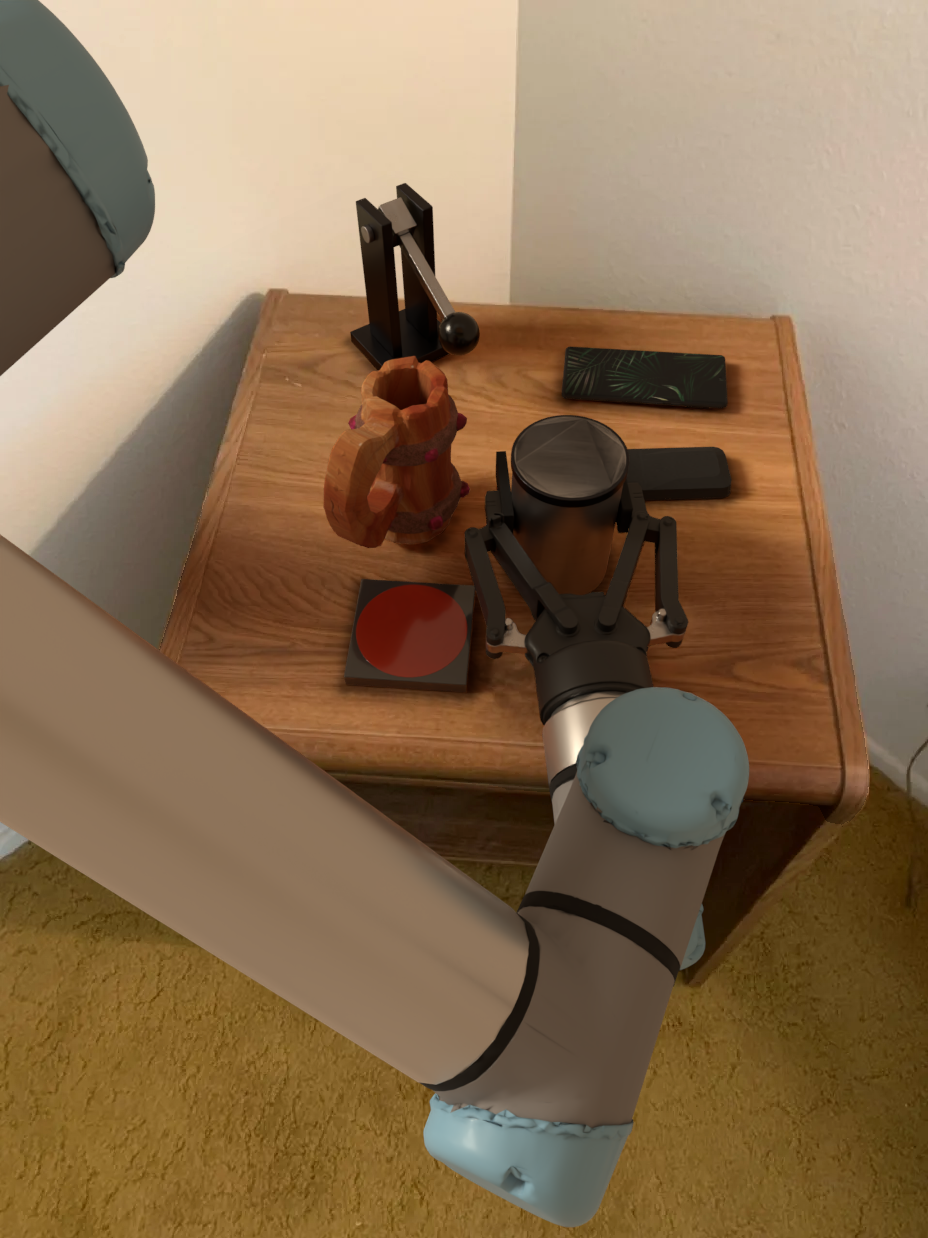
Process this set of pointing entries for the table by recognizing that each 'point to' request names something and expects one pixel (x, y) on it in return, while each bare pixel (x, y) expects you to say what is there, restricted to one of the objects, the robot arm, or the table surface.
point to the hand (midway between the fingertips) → (556, 460)
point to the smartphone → (645, 377)
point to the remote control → (680, 472)
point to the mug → (396, 459)
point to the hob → (411, 636)
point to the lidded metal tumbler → (568, 498)
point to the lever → (431, 284)
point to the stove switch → (387, 325)
